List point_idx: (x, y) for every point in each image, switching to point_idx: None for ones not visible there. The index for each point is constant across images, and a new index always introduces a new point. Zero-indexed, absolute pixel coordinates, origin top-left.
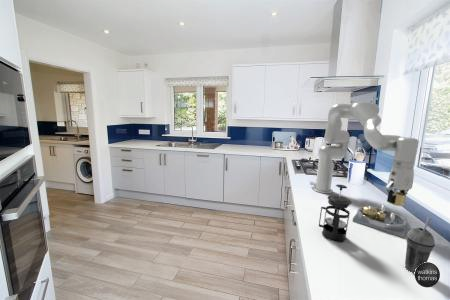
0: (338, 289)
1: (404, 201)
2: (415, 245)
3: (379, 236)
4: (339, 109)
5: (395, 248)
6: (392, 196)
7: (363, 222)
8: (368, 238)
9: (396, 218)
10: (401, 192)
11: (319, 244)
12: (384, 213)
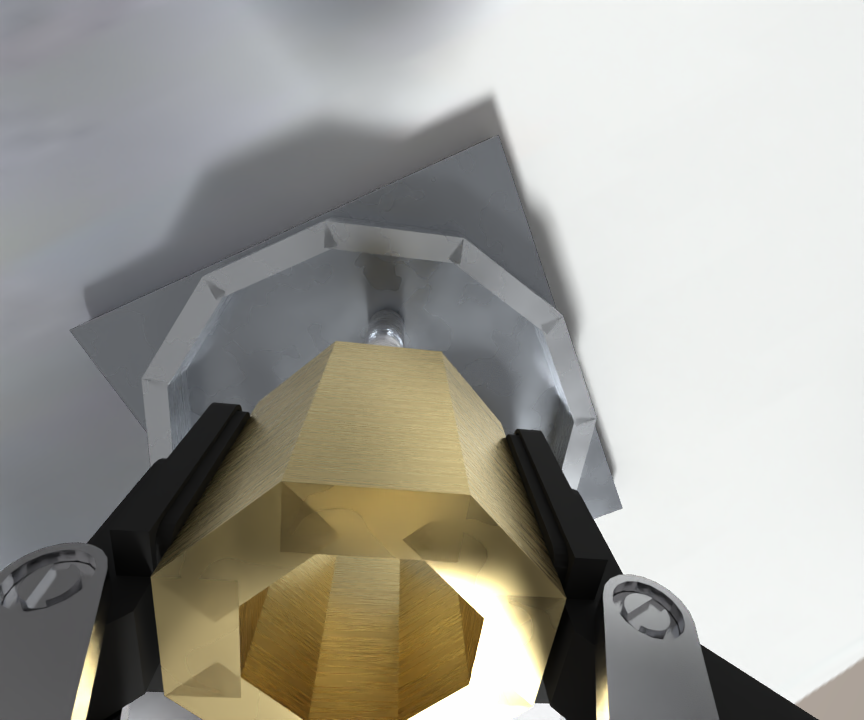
0: None
1: (322, 381)
2: None
3: (681, 248)
4: None
5: (787, 54)
6: (619, 573)
7: (598, 437)
8: (808, 263)
9: (184, 382)
10: (142, 662)
11: None
12: None
